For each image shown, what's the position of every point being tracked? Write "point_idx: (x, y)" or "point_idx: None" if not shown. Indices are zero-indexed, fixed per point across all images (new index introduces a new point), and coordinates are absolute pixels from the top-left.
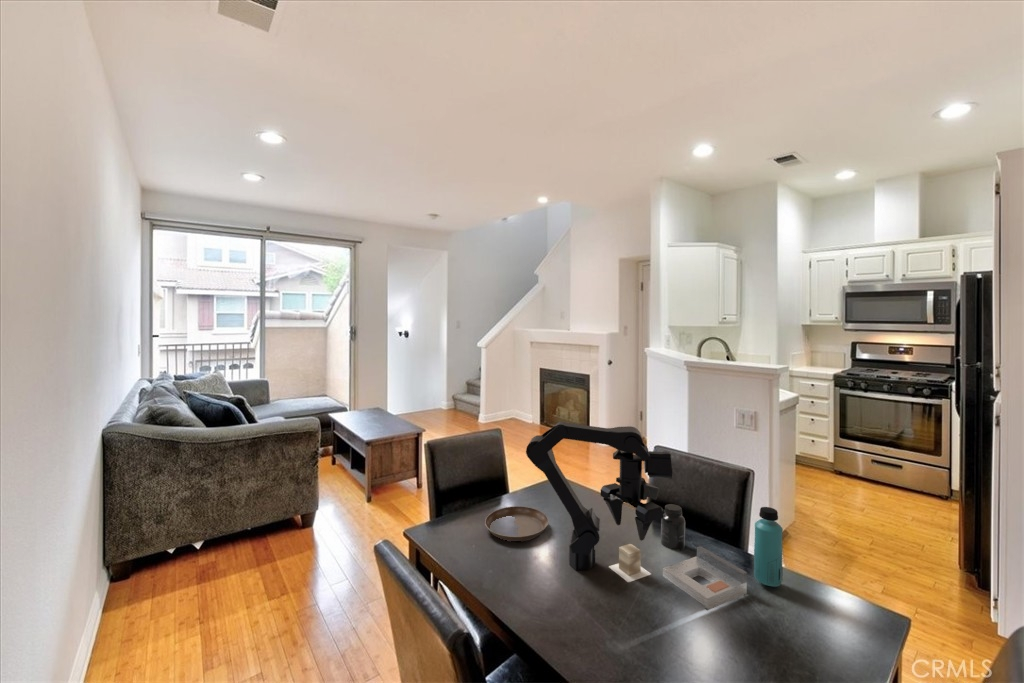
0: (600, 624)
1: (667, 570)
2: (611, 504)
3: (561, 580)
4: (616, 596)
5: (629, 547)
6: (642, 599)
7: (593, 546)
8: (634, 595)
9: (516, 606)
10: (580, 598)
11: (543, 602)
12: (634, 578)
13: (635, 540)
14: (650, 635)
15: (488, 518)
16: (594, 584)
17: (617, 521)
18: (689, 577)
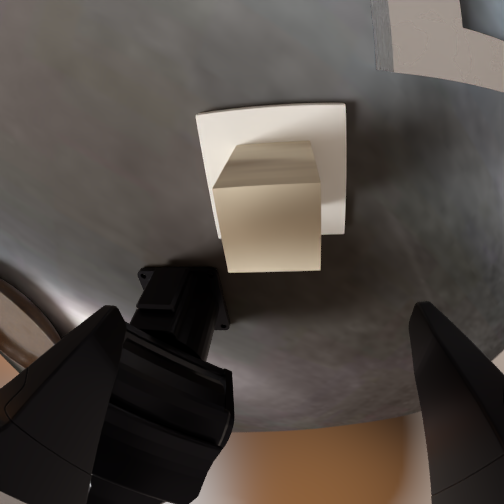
0: (409, 356)
1: (420, 71)
2: (77, 499)
3: (230, 357)
4: (365, 289)
5: (255, 225)
6: (423, 233)
7: (175, 335)
8: (395, 242)
9: (278, 419)
10: (317, 356)
11: (289, 398)
12: (337, 196)
13: (58, 17)
14: (495, 296)
15: (12, 355)
16: (283, 310)
17: (116, 355)
18: (494, 40)
